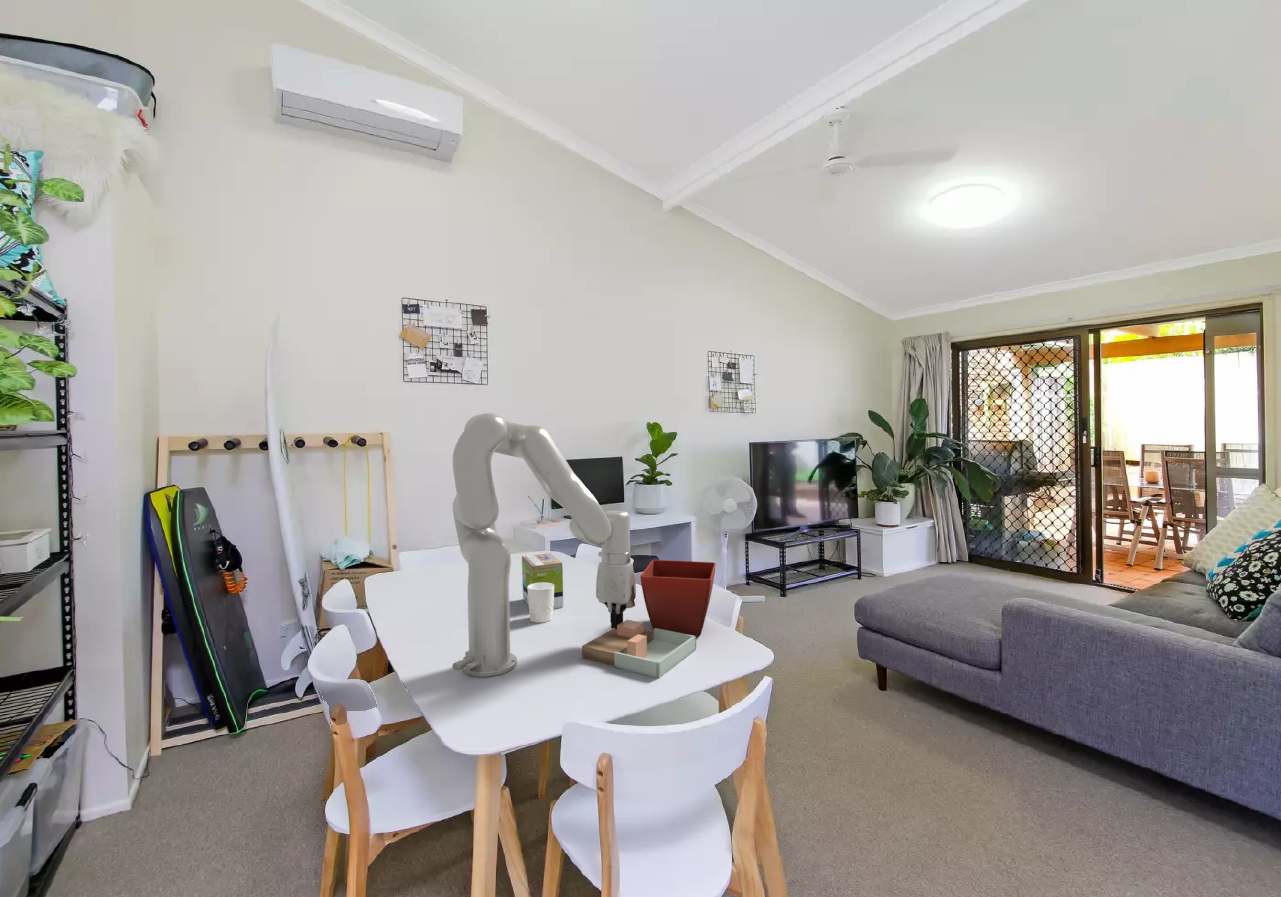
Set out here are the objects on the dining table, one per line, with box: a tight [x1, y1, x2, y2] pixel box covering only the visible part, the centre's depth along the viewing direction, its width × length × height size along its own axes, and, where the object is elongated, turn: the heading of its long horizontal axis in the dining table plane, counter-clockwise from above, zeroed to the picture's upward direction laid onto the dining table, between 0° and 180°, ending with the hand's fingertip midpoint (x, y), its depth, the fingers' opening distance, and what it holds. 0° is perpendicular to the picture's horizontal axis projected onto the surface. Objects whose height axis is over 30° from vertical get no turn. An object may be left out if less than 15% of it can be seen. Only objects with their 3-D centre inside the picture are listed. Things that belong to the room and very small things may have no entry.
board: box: [581, 628, 654, 667], centre depth 145 cm, size 18×10×3 cm, turn 149°
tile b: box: [617, 619, 645, 638], centre depth 148 cm, size 5×5×2 cm
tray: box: [614, 628, 697, 679], centre depth 139 cm, size 19×12×4 cm, turn 149°
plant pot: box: [640, 559, 717, 637], centre depth 161 cm, size 19×19×17 cm
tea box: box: [521, 552, 564, 610], centre depth 184 cm, size 15×10×15 cm, turn 25°
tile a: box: [627, 634, 647, 658], centre depth 137 cm, size 5×5×2 cm
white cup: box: [527, 582, 554, 624], centre depth 169 cm, size 8×8×10 cm
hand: (616, 626), depth 150 cm, fingers closed
